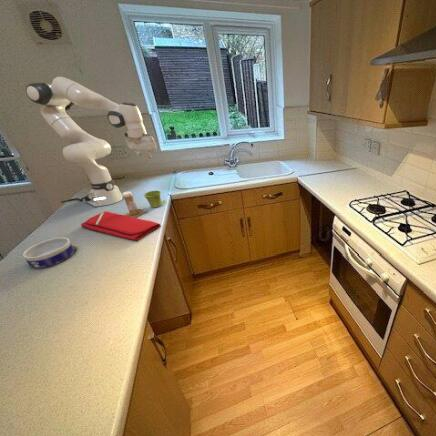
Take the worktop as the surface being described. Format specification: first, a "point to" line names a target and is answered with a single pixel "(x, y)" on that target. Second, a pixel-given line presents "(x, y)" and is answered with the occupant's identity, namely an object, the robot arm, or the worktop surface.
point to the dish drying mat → (120, 225)
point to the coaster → (135, 214)
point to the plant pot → (153, 198)
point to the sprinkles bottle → (130, 203)
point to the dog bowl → (49, 253)
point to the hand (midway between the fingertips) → (145, 157)
